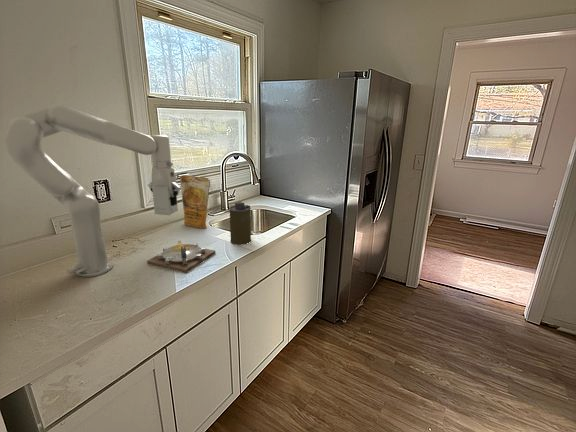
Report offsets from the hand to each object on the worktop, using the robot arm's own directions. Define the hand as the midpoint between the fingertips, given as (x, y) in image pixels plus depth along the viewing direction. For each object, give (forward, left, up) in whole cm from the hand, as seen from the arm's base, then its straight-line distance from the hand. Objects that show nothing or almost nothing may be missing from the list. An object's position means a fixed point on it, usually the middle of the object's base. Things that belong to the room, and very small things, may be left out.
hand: (166, 203), depth 136 cm
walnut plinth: (-6, -12, -22) cm, 26 cm away
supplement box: (0, 0, -4) cm, 4 cm away
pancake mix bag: (+32, +10, -22) cm, 40 cm away
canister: (+22, -25, -22) cm, 40 cm away
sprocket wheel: (-6, -12, -20) cm, 24 cm away
